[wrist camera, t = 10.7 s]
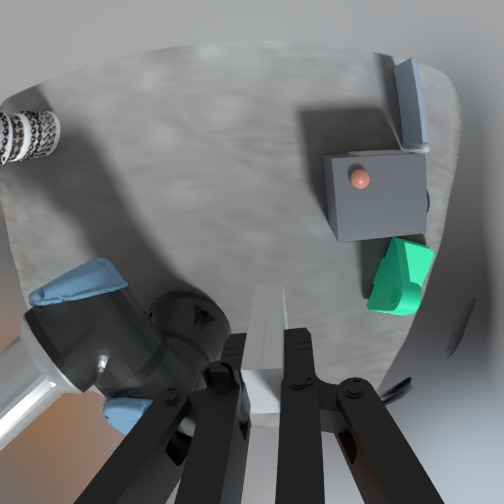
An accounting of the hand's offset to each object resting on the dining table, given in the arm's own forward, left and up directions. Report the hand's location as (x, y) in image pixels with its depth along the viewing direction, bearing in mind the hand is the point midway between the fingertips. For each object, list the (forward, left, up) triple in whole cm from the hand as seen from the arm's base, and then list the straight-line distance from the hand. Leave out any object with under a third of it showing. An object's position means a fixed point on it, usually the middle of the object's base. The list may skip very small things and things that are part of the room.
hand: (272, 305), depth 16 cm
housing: (+1, -13, -26) cm, 29 cm away
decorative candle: (+20, +38, -27) cm, 51 cm away
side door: (+12, -20, -26) cm, 35 cm away
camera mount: (-13, -18, -27) cm, 35 cm away
